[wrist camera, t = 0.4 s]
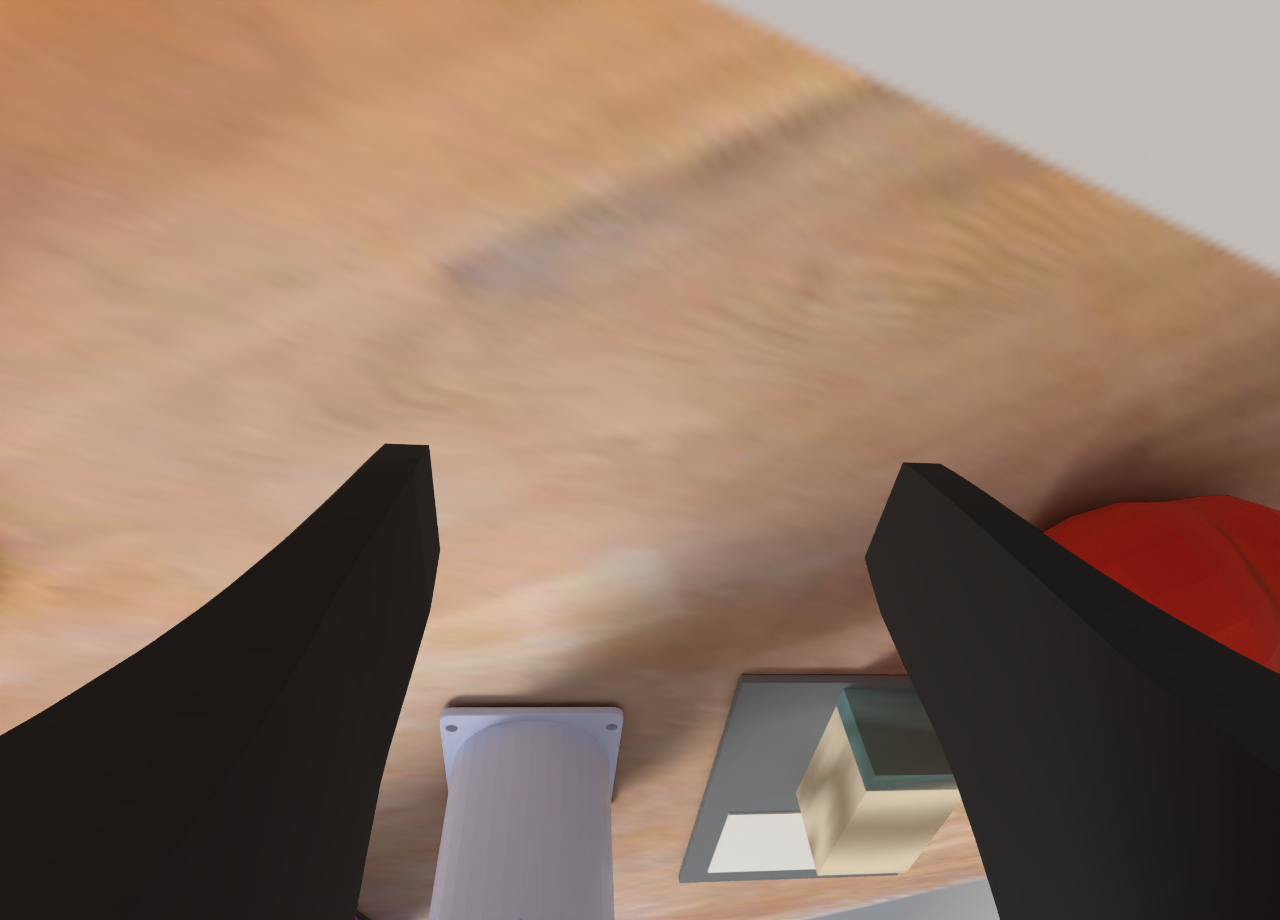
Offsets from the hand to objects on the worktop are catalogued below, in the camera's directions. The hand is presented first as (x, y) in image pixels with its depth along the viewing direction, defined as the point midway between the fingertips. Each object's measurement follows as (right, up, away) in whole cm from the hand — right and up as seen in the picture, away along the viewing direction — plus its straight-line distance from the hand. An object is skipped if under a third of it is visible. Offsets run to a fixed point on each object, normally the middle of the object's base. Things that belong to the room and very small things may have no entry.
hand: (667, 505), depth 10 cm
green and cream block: (+11, -13, +23) cm, 28 cm away
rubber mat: (+10, -17, +26) cm, 32 cm away
